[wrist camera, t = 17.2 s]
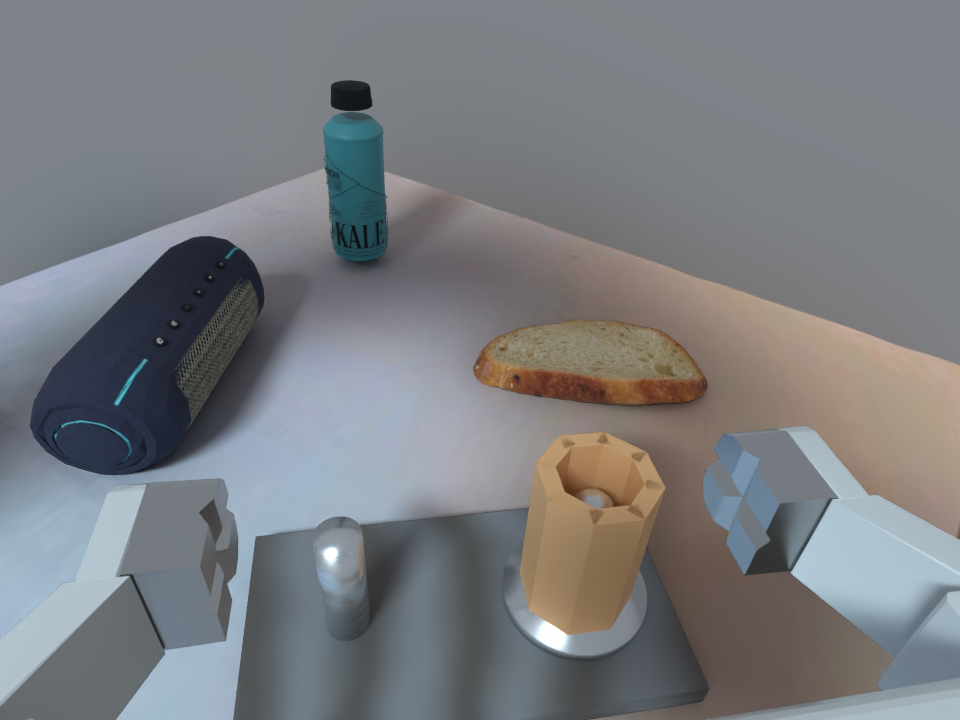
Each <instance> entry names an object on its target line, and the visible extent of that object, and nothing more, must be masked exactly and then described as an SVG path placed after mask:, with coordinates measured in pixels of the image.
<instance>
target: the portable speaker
mask: <svg viewBox="0 0 960 720" xmlns="http://www.w3.org/2000/svg"><path fill="white" fill-rule="evenodd" d="M263 303H264V289H263V285H262V282H261V279H260V275H259V273H258V271H257V269H256V267H255V265H254V263H253V262H252V260H251V259H250V258H249V257H248V255H247V254H246V253H245V252H244V251H242V250H241V249H240V248H238V247H236V246H235V245H234V244H232V243H231V242H229V241H228V240H225V239H221V238H216V237H212V236H200V237H194V238H191V239H189V240H186V241H184V242H182V243H180V244H178V245H176V246H173V247H171V248H170V249H169V250H168V251H166V252H165V253H164V254H163V255H162V256H161V257H160V258H159V259H158V260H157V261H156V262H155V263H154V264H153V265H152V266H151V267H150V268H149V269H148V270H147V271H146V272H145V273H144V274H143V275H142V276H141V278H140V279H139V280H138V281H137V282H136V283H135V284H134V285H133V286H132V287H131V288H130V289H129V290H128V291H127V292H126V293H125V294H124V295H123V296H122V297H121V298H120V299H119V300H118V301H117V302H116V303H115V304H114V305H113V306H112V307H111V308H110V309H109V310H108V311H107V313H106V314H105V315H104V316H103V317H102V318H101V319H100V320H99V321H98V322H97V323H96V324H95V325H94V326H93V327H92V328H91V329H90V330H89V331H88V332H87V333H86V334H85V335H84V336H83V337H82V338H81V339H80V340H79V341H78V342H77V343H76V344H75V345H74V347H73V348H72V349H71V350H70V351H69V352H68V353H67V354H66V355H65V356H64V357H63V358H62V359H61V360H60V361H59V362H58V363H57V364H56V365H55V366H54V367H53V369H52V370H51V372H50V374H49V375H48V377H47V379H46V381H45V382H44V384H43V386H42V388H41V390H40V392H39V393H38V395H37V397H36V399H35V401H34V404H33V408H32V415H31V423H30V427H31V430H32V432H33V435H34V437H35V439H36V440H37V441H38V442H39V444H40V445H41V446H42V447H43V448H44V449H45V450H46V452H48V453H49V454H51V455H52V456H54V457H55V458H57V459H59V460H60V461H62V462H63V463H65V464H67V465H70V466H74V467H77V468H80V469H83V470H86V471H90V472H94V473H98V474H104V475H120V474H128V473H132V472H135V471H138V470H141V469H144V468H146V467H148V466H150V465H152V464H154V463H156V462H158V461H159V460H161V459H163V458H165V457H167V456H168V455H170V454H171V453H172V452H173V451H174V450H175V448H176V447H177V445H178V444H179V442H180V441H181V439H182V438H183V436H184V435H185V433H186V432H187V430H188V429H189V427H190V425H191V424H192V422H193V421H194V419H195V417H196V416H197V414H198V413H199V411H200V409H201V408H202V406H203V405H204V403H205V401H206V400H207V398H208V397H209V395H210V393H211V392H212V390H213V389H214V387H215V385H216V384H217V382H218V380H219V379H220V377H221V376H222V374H223V372H224V371H225V369H226V368H227V366H228V364H229V363H230V361H231V360H232V358H233V356H234V355H235V353H236V352H237V350H238V348H239V347H240V345H241V344H242V342H243V340H244V339H245V337H246V335H247V334H248V332H249V331H250V329H251V327H252V326H253V324H254V322H255V321H256V319H257V317H258V315H259V313H260V311H261V309H262V307H263Z"/></svg>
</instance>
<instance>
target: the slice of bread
mask: <svg viewBox="0 0 960 720" xmlns="http://www.w3.org/2000/svg"><path fill="white" fill-rule="evenodd" d="M474 374H475V376H476V377H477V379H478V380H479V381H480V382H481V383H483V384H485V385H488V386H491V387H497V388H500V389H504V390H508V391H513V392H516V393H520V394H528V395H534V396H538V397H551V398H556V399H562V400H573V401H578V402H585V403H600V404H618V405H624V406H634V405H655V404H663V403H685V402H689V401H693V400H695V399H697V398H699V397H701V396H702V395H703V393H704V392H705V390H706V389H707V381H706V379H705V377H704V376H703V374H702V372H701V371H700V369H699V368H698V366H697V364H696V363H695V361H694V360H693V359H692V358H691V356H690V355H689V354H688V353H687V351H686V350H685V349H684V348H683V347H682V346H681V345H680V344H678V343H677V342H676V341H675V340H673V339H672V338H671V337H669V336H668V335H666V334H665V333H663V332H662V331H659V330H657V329H653V328H647V327H641V326H635V325H631V324H625V323H622V322H618V321H614V322H611V321H603V320H600V321H590V320H570V321H565V322H562V323H559V324H550V325H540V326H536V325H535V326H531V327H526V328H521V329H517V330H515V331H512V332H510V333H507V334H504V335H500V336H498V337H497V338H495V339H494V340H492V341H491V342H490V343H489V344H488V345H487V346H486V347H485V348H484V349H483V350H482V351H481V353H480V355H479V357H478V359H477V361H476V364H475V366H474Z"/></svg>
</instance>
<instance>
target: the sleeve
mask: <svg viewBox="0 0 960 720" xmlns="http://www.w3.org/2000/svg"><path fill="white" fill-rule="evenodd" d="M589 488H593V489H598V490H601V491H603V492H604V493H606V494H607V495H608V496H609V497H610V498H611V500H612V502H613V504H614V507H609V508H599V509H596V508H594V507H592V506H590V505H588V504H586V503H584V502H583V501H581V500H579V499H577V498H575V497H574V496H575V494H577V493H578V492H580V491H581V490H584V489H589ZM665 489H666V488H665V486H664V484H663V482H662V480H661V478H660V476H659V474H658V472H657V471H656V469H655V467H654V465H653V463H652V461H651V459H650V457H649V455H648V453H647V452H646V451H643V450H641V449H639V448H637V447H635V446H633V445H631V444H629V443H627V442H625V441H622V440H620V439H618V438H616V437H614V436H612V435H610V434H608V433H606V432H597V433H585V434H573V435H562V436H559V437H558V438H557V440H556V441H555V442H554V443H553V444H552V445H551V446H550V447H549V448H548V450H547V451H546V452H545V453H544V454H543V455H542V456H541V457H540V458H539V459H538V461H537V462H536V464H535V470H534V477H533V484H532V491H531V498H530V505H529V512H528V519H527V526H526V533H525V540H524V547H523V553H522V560H521V567H520V575H521V579H522V583H523V587H524V591H525V595H526V599H527V603H528V607H529V611H531V612H532V613H534V614H536V615H537V616H539V617H540V618H542V619H543V620H545V621H546V622H548V623H550V624H551V625H553V626H554V627H556V628H557V629H559V630H560V631H562V632H564V633H565V634H567V635H574V634H581V633H588V632H595V631H603V630H611V629H612V627H613V625H614V623H615V622H616V620H617V618H618V616H619V615H620V613H621V611H622V610H623V608H624V606H625V605H626V603H627V601H628V600H629V598H630V596H631V593H632V590H633V587H634V584H635V581H636V578H637V575H638V572H639V569H640V565H641V562H642V559H643V556H644V553H645V550H646V547H647V544H648V541H649V538H650V535H651V532H652V529H653V526H654V523H655V520H656V517H657V513H658V510H659V507H660V504H661V501H662V498H663V495H664V492H665Z"/></svg>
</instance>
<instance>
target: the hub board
mask: <svg viewBox="0 0 960 720" xmlns="http://www.w3.org/2000/svg"><path fill="white" fill-rule="evenodd" d="M574 497H575V498H577V499H579V500H581V501H583V502H584V503H586V504H588V505H590V506H592V507H594V508H596V509H599V508H609V507H614V504H613V502H612V500H611V498H610V497H609V496H608V495H607V494H606V493H604V492H603V491H601V490H598V489H593V488H589V489H584V490H581V491H580V492H578V493H577V494H575V496H574ZM528 512H529V509H519V510H509V511H499V512H490V513H480V514H470V515H460V516H451V517H441V518H431V519H422V520H412V521H402V522H392V523H383V524H373V525H363V526H360V525H359V524H358V523H357V522H356V521H355V520H353V519H351V518H348V517H333V518H330V519H327V520H325V521H324V522H322V523H321V524H320V525H319V526H318V527H317V528H316V529H315V530H314V531H305V532H295V533H285V534H276V535H266V536H256V539H255V547H254V555H253V563H252V572H251V580H250V588H249V596H248V604H247V612H246V621H245V629H244V637H243V645H242V653H241V661H240V670H239V678H238V686H237V694H236V702H235V710H234V718H233V720H589V719H595V718H601V717H607V716H614V715H620V714H626V713H632V712H639V711H645V710H651V709H657V708H664V707H670V706H676V705H682V704H689V703H695V702H701V701H703V700H704V698H705V696H706V694H707V692H708V690H709V687H708V684H707V682H706V680H705V678H704V675H703V673H702V671H701V669H700V666H699V664H698V662H697V660H696V657H695V655H694V653H693V651H692V648H691V646H690V644H689V642H688V639H687V637H686V635H685V633H684V630H683V628H682V626H681V624H680V621H679V619H678V617H677V615H676V612H675V610H674V608H673V606H672V603H671V601H670V599H669V597H668V594H667V592H666V590H665V588H664V585H663V583H662V581H661V579H660V577H659V574H658V572H657V570H656V568H655V565H654V563H653V561H652V559H651V556H650V554H649V552H648V550H647V547H646V550H645V553H644V556H643V559H642V562H641V565H640V569H639V572H638V575H637V578H636V581H635V584H634V587H633V590H632V593H631V596H630V598H629V600H628V601H627V603H626V605H625V606H624V608H623V610H622V611H621V613H620V615H619V616H618V618H617V620H616V622H615V623H614V625H613V627H612V629H611V630H603V631H595V632H588V633H581V634H574V635H567V634H565V633H564V632H562V631H560V630H559V629H557V628H556V627H554V626H553V625H551V624H550V623H548V622H546V621H545V620H543V619H542V618H540V617H539V616H537V615H536V614H534V613H532V612H531V611H529V607H528V603H527V599H526V595H525V591H524V587H523V583H522V579H521V575H520V567H521V560H522V553H523V547H524V540H525V533H526V526H527V519H528Z"/></svg>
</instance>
